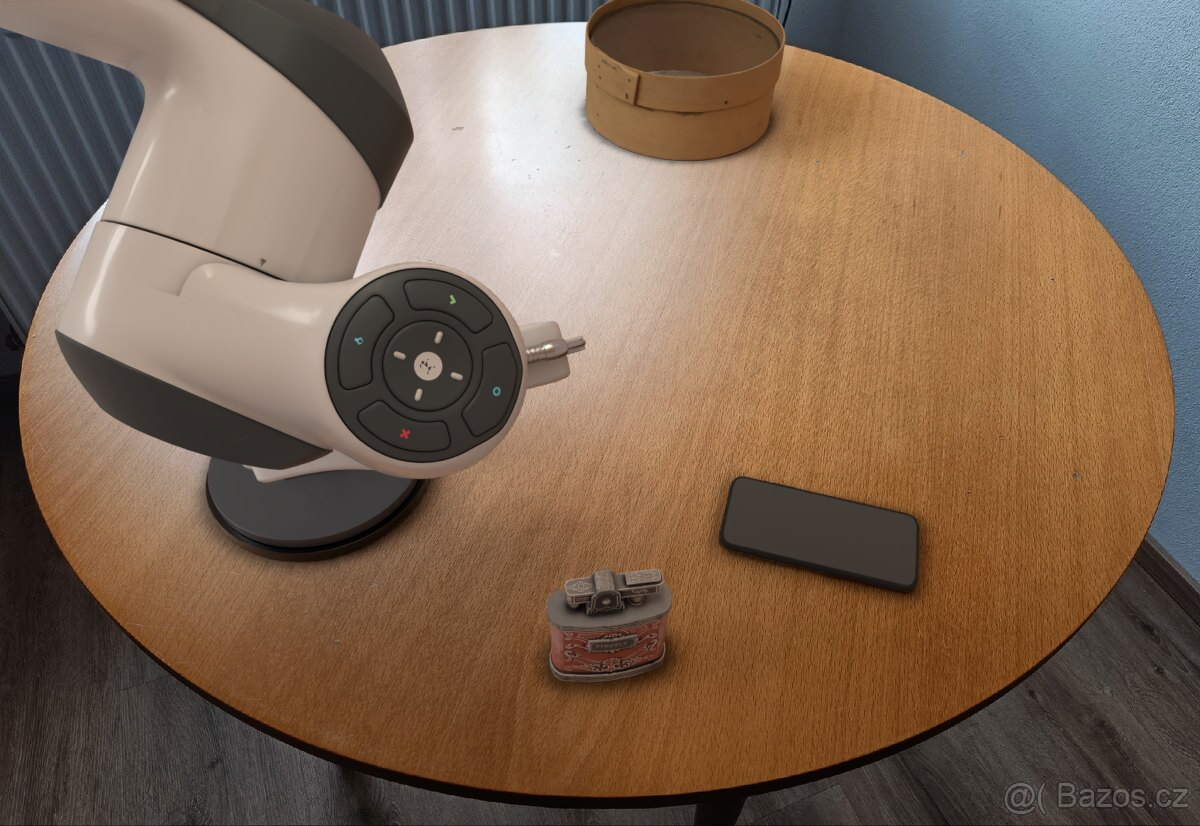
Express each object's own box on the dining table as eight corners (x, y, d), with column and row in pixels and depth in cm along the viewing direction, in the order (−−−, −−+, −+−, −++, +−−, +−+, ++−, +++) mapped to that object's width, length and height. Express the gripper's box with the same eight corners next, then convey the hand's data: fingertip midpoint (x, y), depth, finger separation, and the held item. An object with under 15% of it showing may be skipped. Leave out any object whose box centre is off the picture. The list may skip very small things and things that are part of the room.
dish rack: (447, 510, 67) (425, 394, 58) (219, 575, 63) (155, 461, 53) (401, 369, 78) (376, 252, 69) (204, 416, 74) (149, 298, 64)
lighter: (552, 688, 58) (548, 612, 51) (547, 643, 61) (542, 564, 53) (669, 672, 59) (681, 595, 52) (659, 628, 61) (669, 548, 54)
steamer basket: (636, 180, 102) (640, 89, 94) (554, 90, 118) (552, 5, 110) (809, 138, 110) (827, 50, 102) (710, 59, 125) (719, -23, 117)
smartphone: (919, 592, 63) (717, 543, 65) (915, 599, 63) (715, 550, 66) (920, 514, 68) (732, 471, 70) (917, 521, 68) (731, 478, 71)
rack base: (334, 599, 63) (331, 592, 62) (160, 502, 69) (155, 494, 68) (475, 440, 74) (474, 432, 73) (315, 367, 80) (312, 359, 79)
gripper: (580, 284, 48) (534, 313, 61) (192, 370, 43) (235, 382, 56) (607, 394, 48) (556, 399, 61) (226, 493, 43) (261, 475, 56)
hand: (400, 392), depth 59 cm, fingers closed
